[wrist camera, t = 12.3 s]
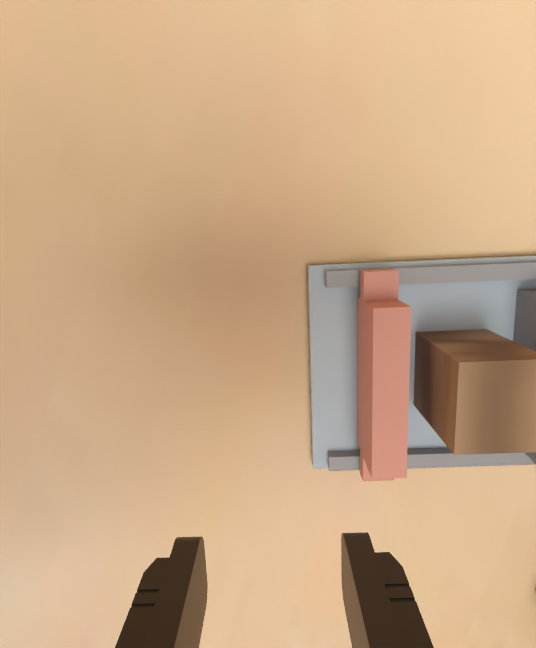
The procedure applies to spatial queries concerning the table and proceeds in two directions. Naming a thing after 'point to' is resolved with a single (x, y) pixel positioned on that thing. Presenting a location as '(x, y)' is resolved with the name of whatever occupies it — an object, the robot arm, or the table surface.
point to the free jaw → (382, 376)
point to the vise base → (426, 315)
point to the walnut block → (476, 390)
